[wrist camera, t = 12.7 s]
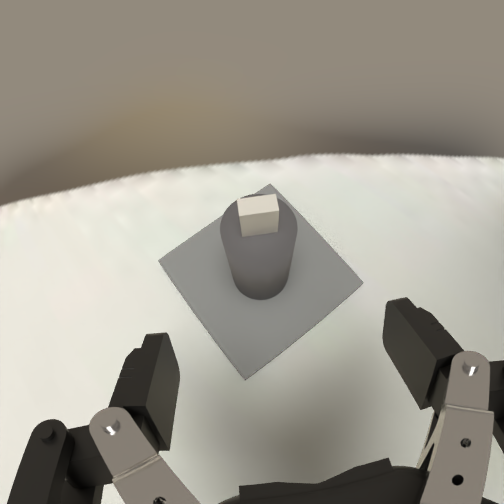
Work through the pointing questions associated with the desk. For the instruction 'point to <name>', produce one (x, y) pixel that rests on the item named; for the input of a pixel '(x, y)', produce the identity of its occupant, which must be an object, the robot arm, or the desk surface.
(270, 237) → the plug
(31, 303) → the desk surface
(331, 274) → the mat
